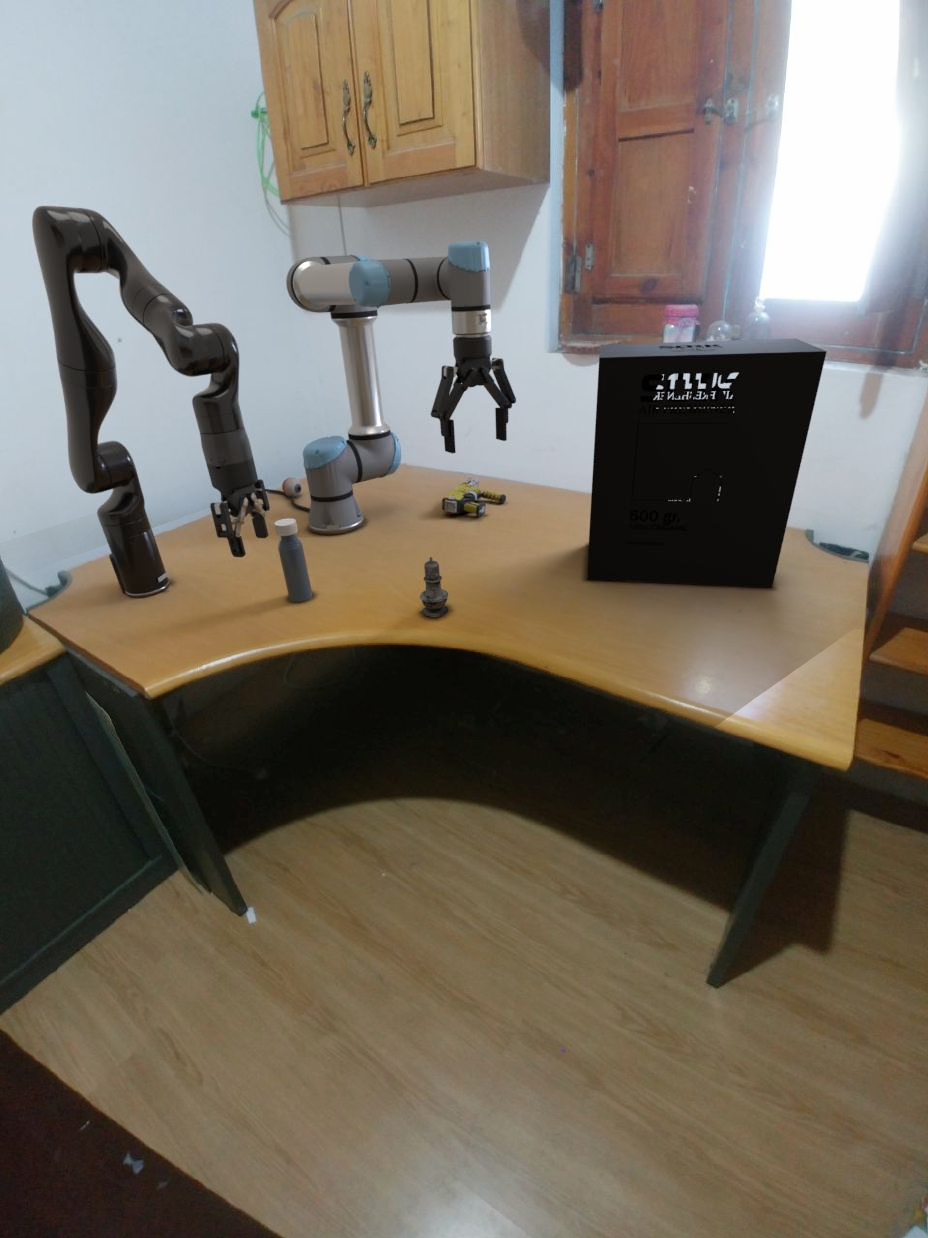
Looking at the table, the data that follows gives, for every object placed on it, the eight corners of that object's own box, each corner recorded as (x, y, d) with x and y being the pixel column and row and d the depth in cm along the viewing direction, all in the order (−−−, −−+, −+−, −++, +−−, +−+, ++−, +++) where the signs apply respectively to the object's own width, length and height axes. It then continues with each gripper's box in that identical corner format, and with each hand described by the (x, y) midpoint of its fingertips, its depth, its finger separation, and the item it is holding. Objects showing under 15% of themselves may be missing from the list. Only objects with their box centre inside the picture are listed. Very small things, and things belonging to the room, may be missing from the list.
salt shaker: (446, 618, 120) (442, 563, 114) (417, 616, 122) (412, 562, 116) (452, 604, 125) (448, 551, 119) (425, 602, 126) (420, 550, 120)
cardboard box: (752, 548, 142) (795, 338, 119) (772, 587, 124) (826, 351, 102) (589, 543, 149) (600, 344, 127) (586, 579, 132) (599, 357, 110)
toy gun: (514, 482, 184) (468, 475, 188) (491, 505, 164) (440, 497, 168) (513, 497, 186) (467, 490, 190) (490, 522, 166) (439, 513, 170)
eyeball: (294, 500, 190) (290, 481, 187) (280, 497, 193) (276, 479, 190) (307, 494, 194) (304, 476, 191) (294, 492, 197) (290, 474, 194)
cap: (289, 537, 122) (287, 526, 121) (272, 535, 124) (269, 524, 123) (302, 529, 126) (300, 519, 124) (285, 527, 127) (282, 517, 126)
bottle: (303, 603, 129) (288, 529, 121) (284, 600, 131) (267, 527, 123) (317, 593, 133) (302, 520, 125) (298, 590, 135) (282, 518, 127)
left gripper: (230, 446, 107) (251, 531, 115) (184, 469, 95) (211, 562, 103) (269, 445, 106) (287, 532, 114) (227, 469, 94) (251, 563, 102)
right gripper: (429, 342, 108) (437, 460, 118) (533, 329, 120) (532, 437, 131) (407, 340, 113) (417, 454, 124) (508, 328, 125) (510, 432, 136)
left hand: (251, 546), depth 109 cm, fingers open, 8 cm apart
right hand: (476, 445), depth 127 cm, fingers open, 13 cm apart
